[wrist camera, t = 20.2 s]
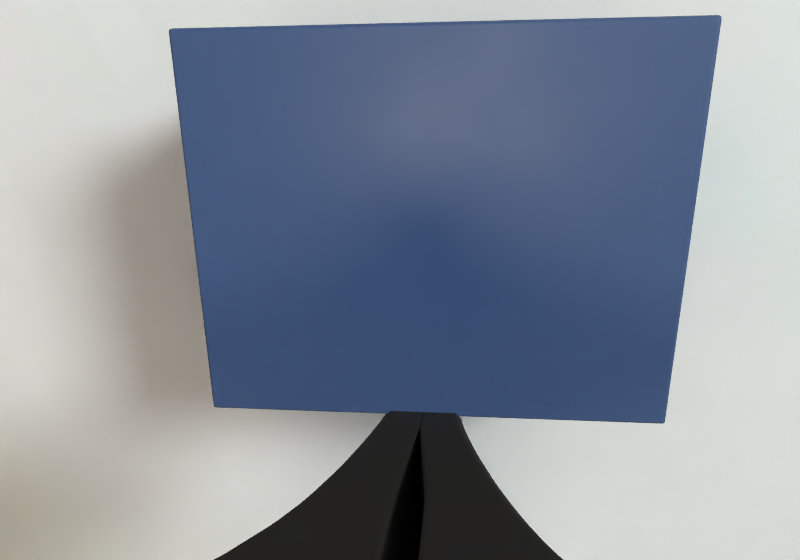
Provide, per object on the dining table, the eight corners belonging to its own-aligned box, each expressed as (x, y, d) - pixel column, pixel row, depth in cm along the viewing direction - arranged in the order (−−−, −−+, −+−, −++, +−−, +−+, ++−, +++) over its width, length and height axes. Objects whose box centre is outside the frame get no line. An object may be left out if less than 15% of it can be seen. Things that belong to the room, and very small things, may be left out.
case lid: (179, 31, 14) (167, 28, 13) (711, 18, 13) (723, 14, 12) (221, 397, 17) (213, 408, 16) (657, 412, 16) (665, 424, 15)
